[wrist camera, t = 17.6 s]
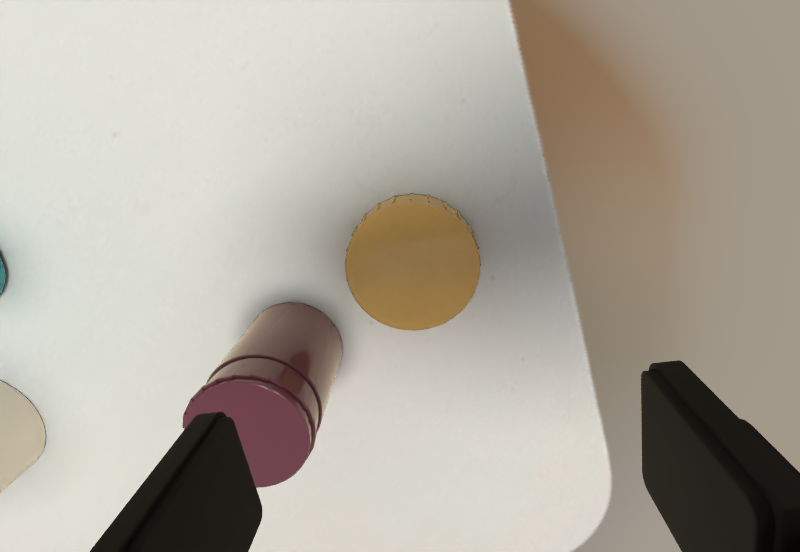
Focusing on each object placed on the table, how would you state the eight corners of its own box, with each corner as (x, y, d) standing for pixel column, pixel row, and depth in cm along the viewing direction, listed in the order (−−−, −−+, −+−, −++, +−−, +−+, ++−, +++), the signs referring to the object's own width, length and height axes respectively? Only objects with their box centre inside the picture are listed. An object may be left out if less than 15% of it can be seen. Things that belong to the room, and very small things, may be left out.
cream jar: (351, 315, 26) (323, 397, 19) (332, 396, 28) (300, 501, 21) (255, 291, 26) (187, 365, 19) (242, 375, 28) (175, 474, 20)
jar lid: (375, 173, 24) (370, 179, 22) (496, 220, 24) (504, 231, 22) (334, 289, 26) (326, 305, 24) (447, 330, 26) (449, 349, 24)
